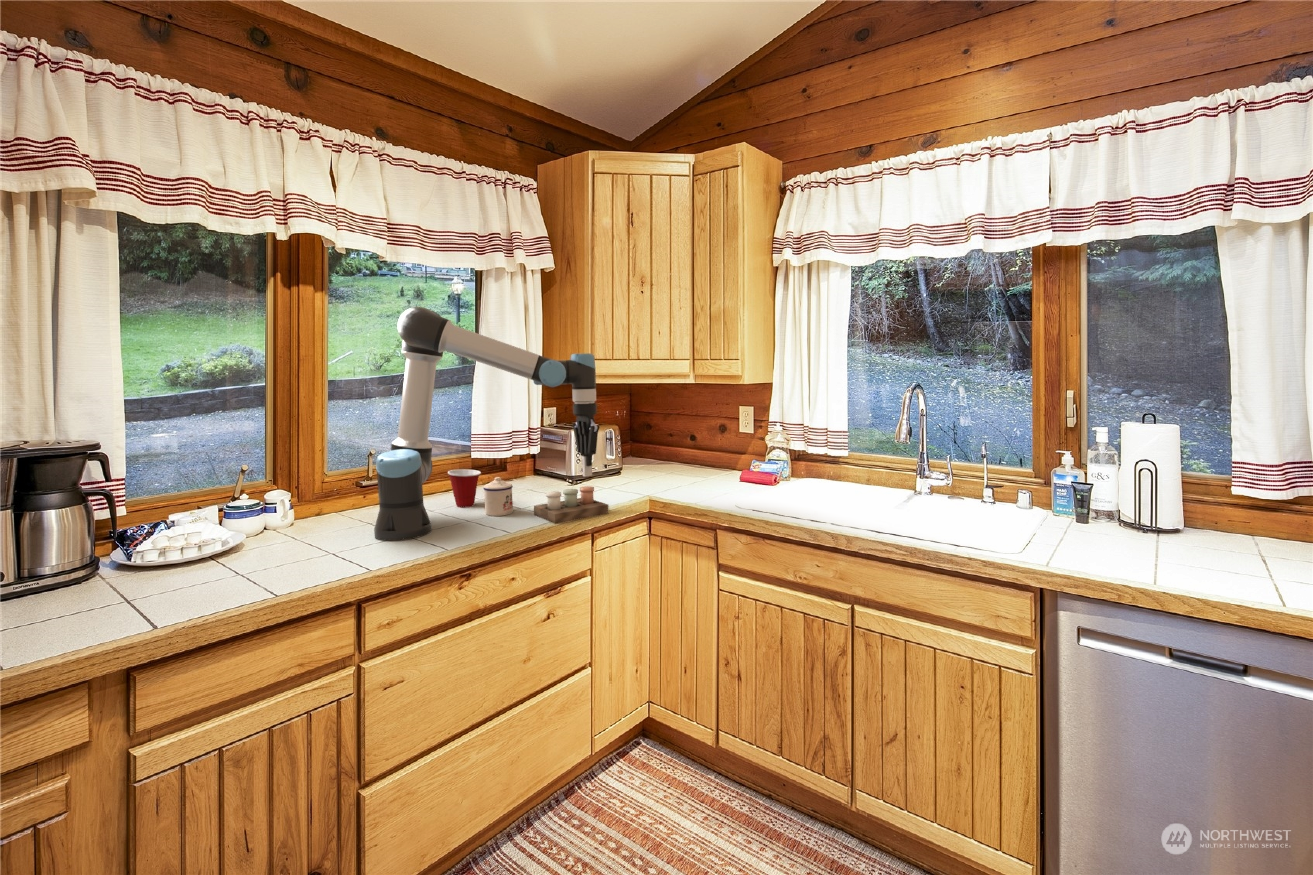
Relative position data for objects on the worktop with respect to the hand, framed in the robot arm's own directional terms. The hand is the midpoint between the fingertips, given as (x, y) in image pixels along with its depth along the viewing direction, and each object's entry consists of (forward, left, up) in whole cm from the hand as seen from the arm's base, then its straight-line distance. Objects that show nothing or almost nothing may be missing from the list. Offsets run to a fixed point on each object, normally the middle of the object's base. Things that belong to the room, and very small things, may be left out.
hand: (587, 475), depth 198 cm
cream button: (-12, 0, -9) cm, 15 cm away
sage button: (-6, 0, -9) cm, 11 cm away
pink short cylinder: (0, 0, -9) cm, 9 cm away
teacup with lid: (-22, +18, -12) cm, 31 cm away
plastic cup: (-28, +34, -12) cm, 46 cm away
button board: (-6, 0, -12) cm, 13 cm away
